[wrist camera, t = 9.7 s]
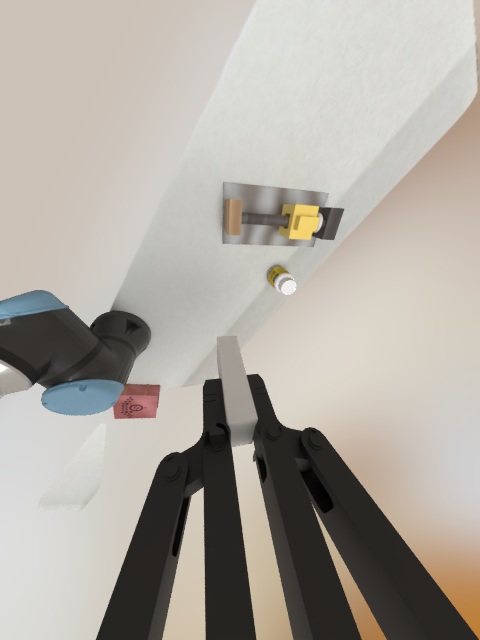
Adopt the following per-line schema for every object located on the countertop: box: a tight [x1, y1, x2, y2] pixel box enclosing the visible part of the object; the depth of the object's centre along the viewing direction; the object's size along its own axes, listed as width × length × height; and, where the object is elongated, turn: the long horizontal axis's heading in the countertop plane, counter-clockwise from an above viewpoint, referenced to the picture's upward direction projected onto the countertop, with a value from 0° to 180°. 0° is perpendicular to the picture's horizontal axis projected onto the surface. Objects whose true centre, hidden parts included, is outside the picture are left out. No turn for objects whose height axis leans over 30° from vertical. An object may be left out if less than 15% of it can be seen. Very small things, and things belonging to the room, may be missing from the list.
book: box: [113, 384, 160, 419], centre depth 67 cm, size 14×15×5 cm
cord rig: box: [223, 182, 344, 247], centre depth 39 cm, size 25×12×9 cm, turn 86°
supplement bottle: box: [267, 266, 296, 295], centre depth 47 cm, size 5×5×10 cm
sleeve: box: [278, 204, 320, 240], centre depth 37 cm, size 5×6×8 cm
